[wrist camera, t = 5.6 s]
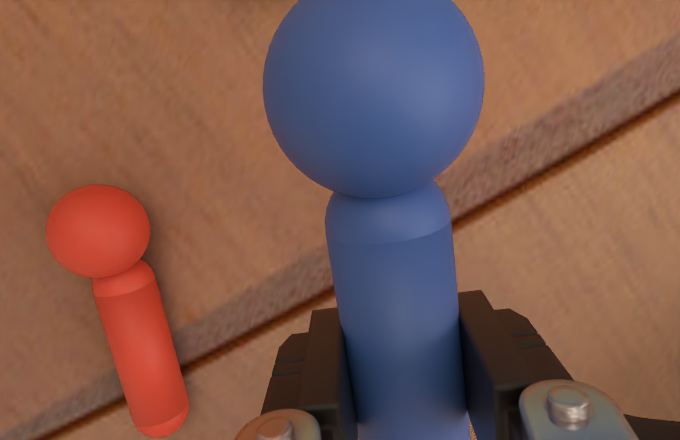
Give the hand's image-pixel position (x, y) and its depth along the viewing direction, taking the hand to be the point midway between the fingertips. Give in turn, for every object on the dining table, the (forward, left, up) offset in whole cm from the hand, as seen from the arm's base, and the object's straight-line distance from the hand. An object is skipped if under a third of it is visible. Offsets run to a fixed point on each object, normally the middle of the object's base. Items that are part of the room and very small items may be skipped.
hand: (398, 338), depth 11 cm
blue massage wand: (0, +3, 0) cm, 3 cm away
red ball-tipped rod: (-11, -1, -9) cm, 14 cm away
